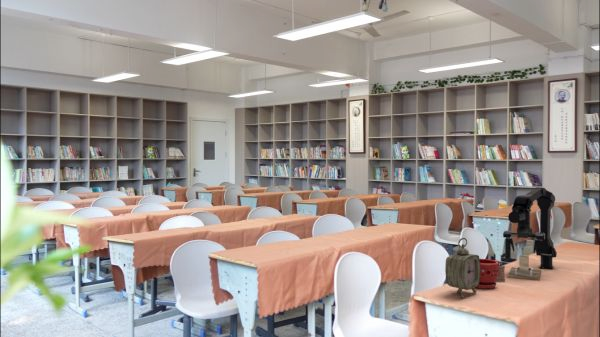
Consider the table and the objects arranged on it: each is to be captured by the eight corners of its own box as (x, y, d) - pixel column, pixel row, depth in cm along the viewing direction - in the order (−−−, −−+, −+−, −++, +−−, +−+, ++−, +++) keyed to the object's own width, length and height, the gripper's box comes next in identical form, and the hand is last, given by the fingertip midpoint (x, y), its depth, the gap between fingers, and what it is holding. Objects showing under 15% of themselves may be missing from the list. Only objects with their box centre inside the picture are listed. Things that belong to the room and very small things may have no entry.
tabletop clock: (463, 300, 205) (462, 241, 204) (444, 295, 212) (443, 238, 211) (480, 293, 215) (480, 237, 214) (461, 289, 221) (461, 234, 221)
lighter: (503, 280, 236) (503, 259, 236) (506, 282, 232) (505, 261, 232) (486, 280, 237) (486, 259, 236) (488, 281, 233) (488, 261, 233)
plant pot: (499, 291, 218) (499, 264, 217) (468, 288, 222) (468, 262, 222) (498, 283, 230) (498, 258, 230) (468, 281, 234) (468, 256, 234)
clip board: (511, 269, 258) (511, 262, 258) (541, 271, 251) (541, 264, 251) (507, 277, 240) (507, 270, 240) (538, 280, 234) (538, 273, 233)
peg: (520, 272, 246) (519, 254, 246) (528, 273, 244) (528, 255, 244) (519, 274, 242) (519, 256, 242) (528, 275, 240) (528, 257, 240)
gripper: (501, 222, 240) (501, 253, 240) (543, 224, 231) (543, 256, 231) (504, 219, 250) (504, 249, 250) (544, 221, 240) (545, 252, 241)
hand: (523, 252), depth 243 cm, fingers open, 9 cm apart
